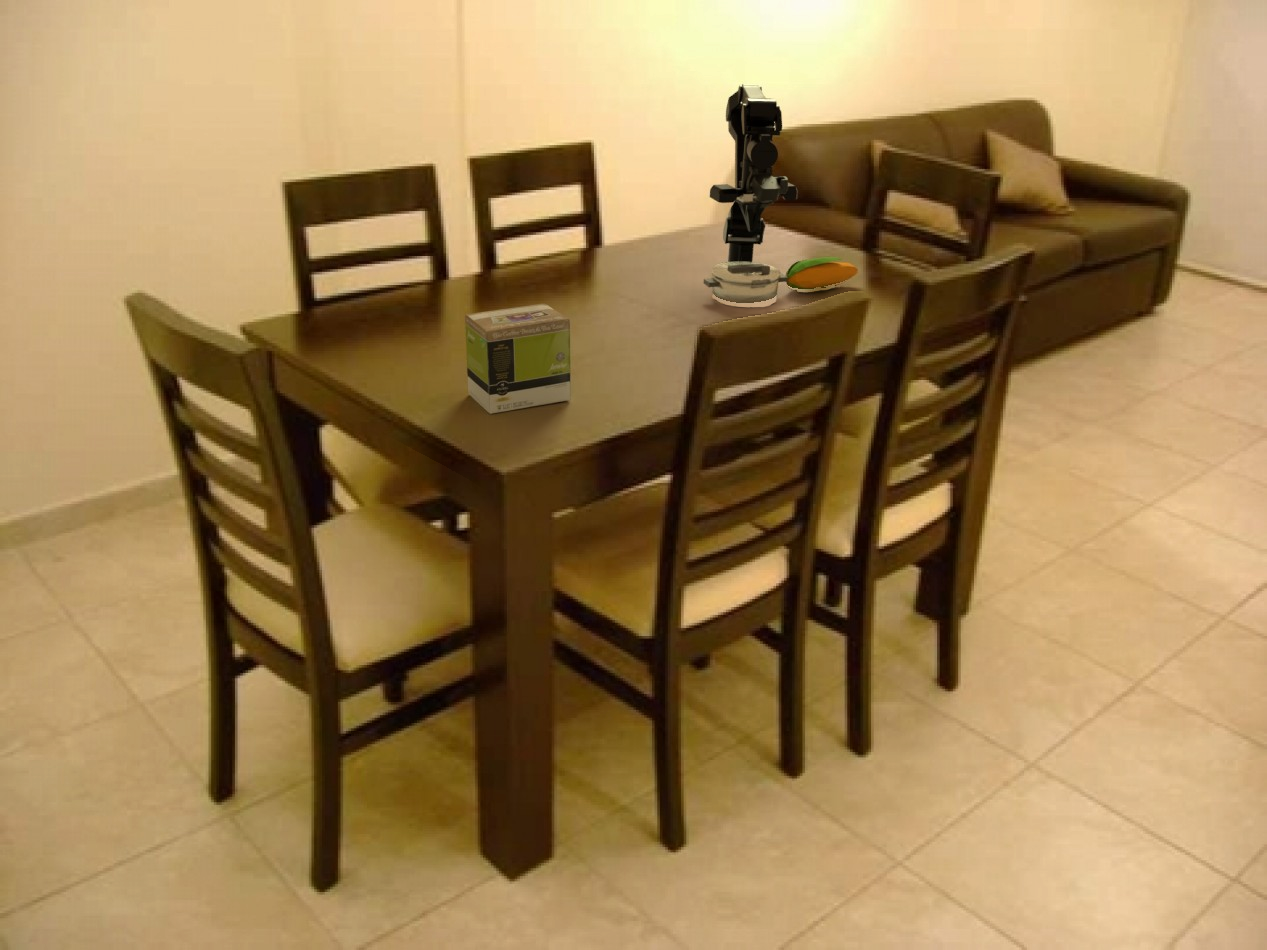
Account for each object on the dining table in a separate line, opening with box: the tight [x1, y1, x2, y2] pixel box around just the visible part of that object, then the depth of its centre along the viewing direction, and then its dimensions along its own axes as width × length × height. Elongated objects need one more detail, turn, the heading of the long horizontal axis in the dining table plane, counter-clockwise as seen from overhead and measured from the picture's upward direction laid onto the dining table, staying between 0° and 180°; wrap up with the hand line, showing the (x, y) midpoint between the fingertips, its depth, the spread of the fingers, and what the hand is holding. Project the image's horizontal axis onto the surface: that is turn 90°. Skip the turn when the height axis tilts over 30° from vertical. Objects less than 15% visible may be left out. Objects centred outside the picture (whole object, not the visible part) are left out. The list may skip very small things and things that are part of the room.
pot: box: [703, 273, 787, 303], centre depth 258 cm, size 14×18×5 cm
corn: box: [784, 256, 859, 289], centre depth 266 cm, size 7×8×20 cm
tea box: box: [464, 303, 572, 415], centre depth 200 cm, size 15×10×15 cm, turn 118°
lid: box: [711, 261, 782, 285], centre depth 256 cm, size 15×15×3 cm
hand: (750, 231), depth 264 cm, fingers closed
